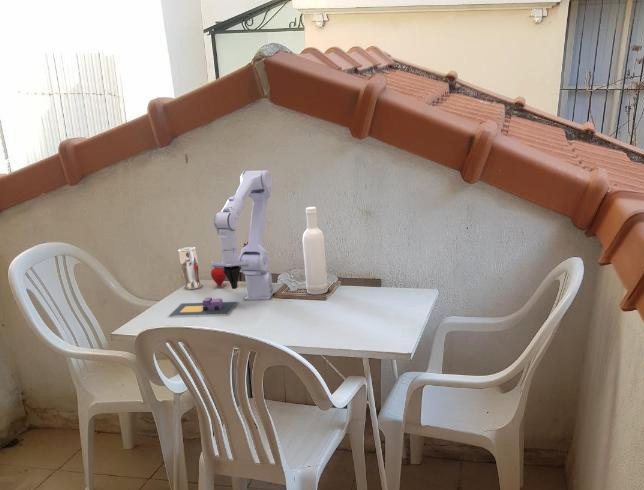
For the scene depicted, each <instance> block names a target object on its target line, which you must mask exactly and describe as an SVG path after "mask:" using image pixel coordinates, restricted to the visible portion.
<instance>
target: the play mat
mask: <svg viewBox="0 0 644 490" xmlns="http://www.w3.org/2000/svg"><path fill="white" fill-rule="evenodd" d="M237 302H238V301H223V307H222V308H221V309H220V310H206V311H205V310H203V307H202V306H203V302H189V303H187V302H186V303H181V304H179V306H178V307H177V308H176V309H175V310H174V311H172V313H170V314H169V317H176V316H178V317H179V316H206V315H207V316H209V315H213V316H214V315H228V314H229V312H230V311H231V310H232V309H233V308H234V307H235V306H236V304H237Z"/></svg>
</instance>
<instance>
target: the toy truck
mask: <svg viewBox="0 0 644 490" xmlns="http://www.w3.org/2000/svg"><path fill="white" fill-rule="evenodd" d="M223 302H224V301H223V298H213V297H205V298H203V300H202V303H203V306H202V307H203V310H205V311H206V310H220V309H221V308H222V307H223Z"/></svg>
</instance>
